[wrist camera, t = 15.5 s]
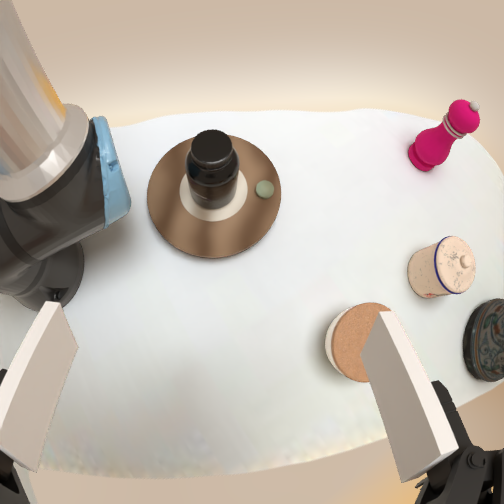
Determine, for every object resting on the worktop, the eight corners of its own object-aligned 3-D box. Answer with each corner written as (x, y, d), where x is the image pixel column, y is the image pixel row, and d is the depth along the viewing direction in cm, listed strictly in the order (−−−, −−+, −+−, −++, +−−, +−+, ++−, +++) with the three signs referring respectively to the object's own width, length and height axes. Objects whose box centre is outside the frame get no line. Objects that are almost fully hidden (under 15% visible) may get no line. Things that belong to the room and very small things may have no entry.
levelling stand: (145, 258, 45) (138, 252, 41) (160, 144, 49) (155, 130, 45) (278, 262, 46) (283, 256, 42) (276, 147, 51) (280, 133, 47)
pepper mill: (399, 148, 54) (453, 88, 34) (420, 139, 55) (472, 83, 36) (420, 178, 53) (482, 125, 33) (439, 167, 54) (498, 117, 34)
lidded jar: (377, 304, 46) (409, 299, 37) (378, 370, 44) (410, 377, 35) (315, 307, 45) (336, 303, 36) (315, 377, 43) (337, 389, 34)
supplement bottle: (188, 210, 44) (176, 170, 32) (192, 168, 45) (184, 121, 34) (236, 212, 44) (240, 172, 32) (238, 170, 46) (242, 122, 34)
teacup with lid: (417, 308, 47) (461, 302, 35) (397, 260, 48) (438, 243, 37) (459, 279, 49) (501, 267, 37) (441, 236, 50) (481, 216, 39)
